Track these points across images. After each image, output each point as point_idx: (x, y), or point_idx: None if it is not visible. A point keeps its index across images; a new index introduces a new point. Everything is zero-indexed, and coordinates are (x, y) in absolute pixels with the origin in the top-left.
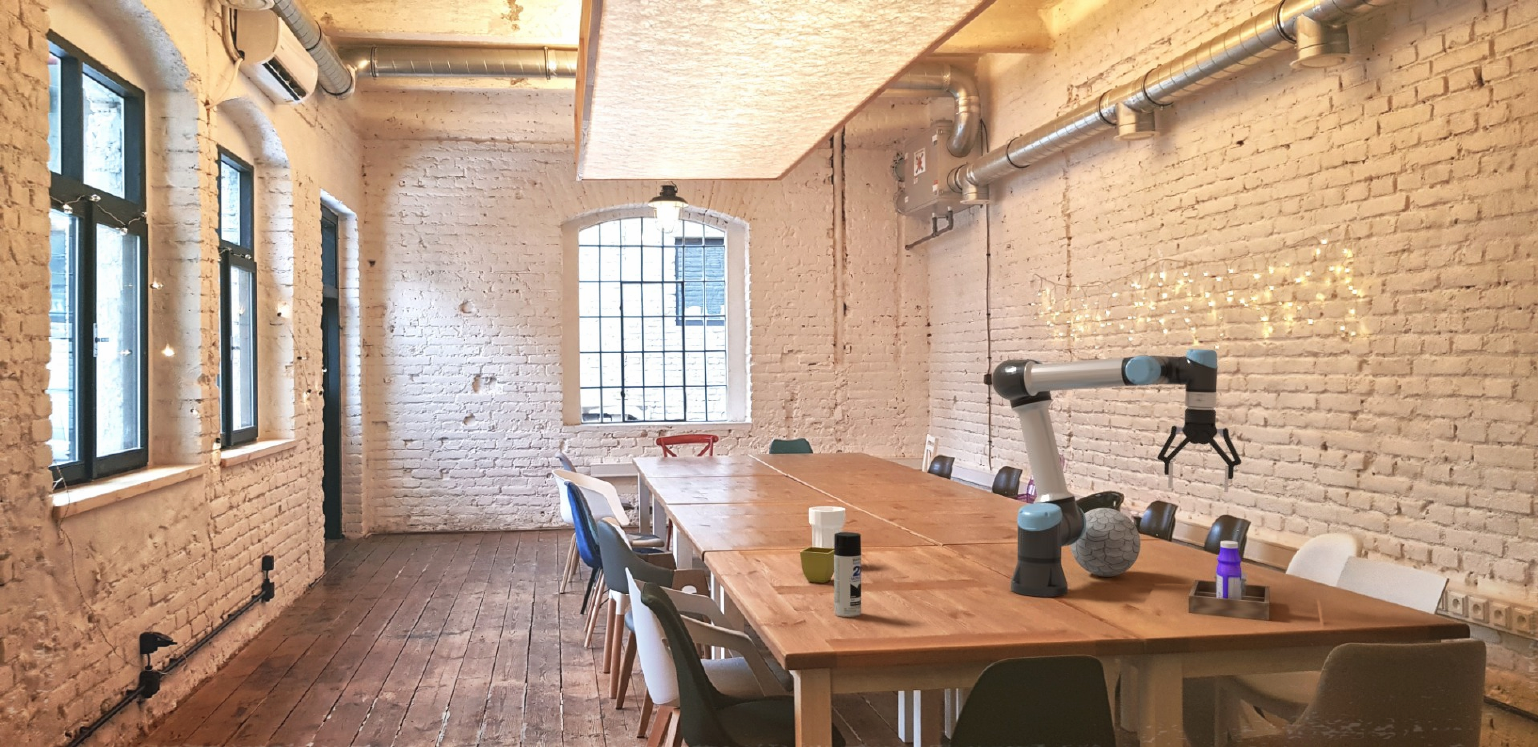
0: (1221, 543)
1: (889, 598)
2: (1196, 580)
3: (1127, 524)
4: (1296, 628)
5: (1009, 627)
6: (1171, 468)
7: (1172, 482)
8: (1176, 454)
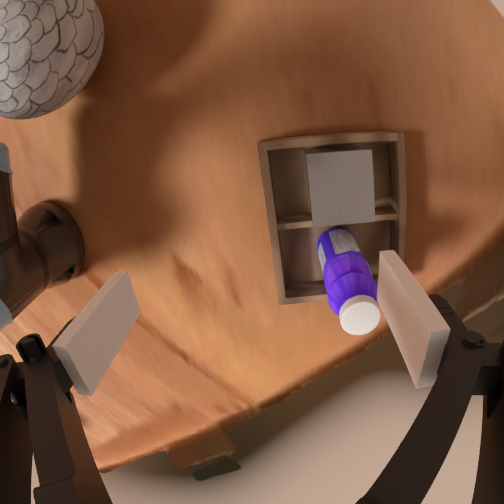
0: (343, 327)
1: (9, 349)
2: (262, 150)
3: (43, 47)
4: (425, 280)
5: (134, 410)
6: (102, 375)
7: (119, 285)
8: (65, 409)
